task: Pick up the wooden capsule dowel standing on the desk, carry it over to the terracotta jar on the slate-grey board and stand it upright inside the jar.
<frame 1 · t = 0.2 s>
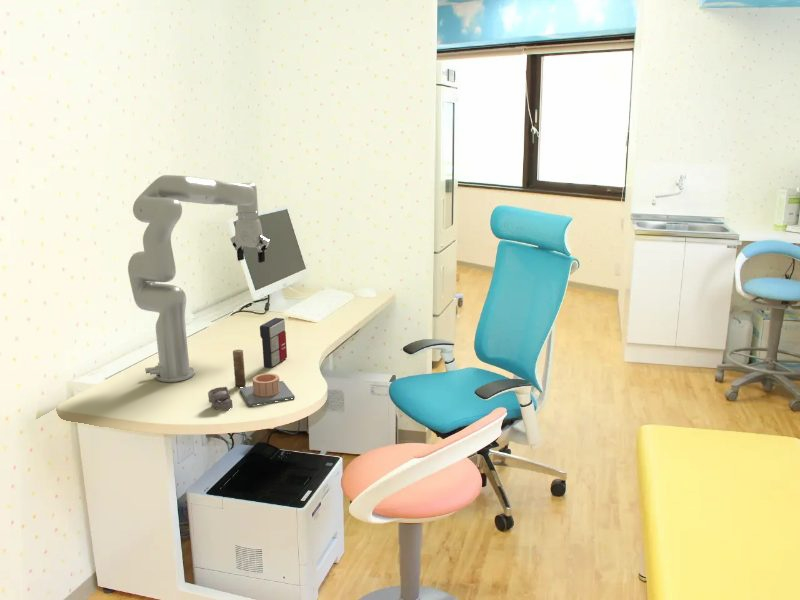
hand: (251, 261, 271), 31 cm above the table, tool pointing down, fingers open, 9 cm apart
wooden capsule dowel: (240, 386, 230), on the table
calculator: (275, 363, 252), on the table
dental mold: (221, 406, 215), on the table
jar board: (267, 394, 223), on the table
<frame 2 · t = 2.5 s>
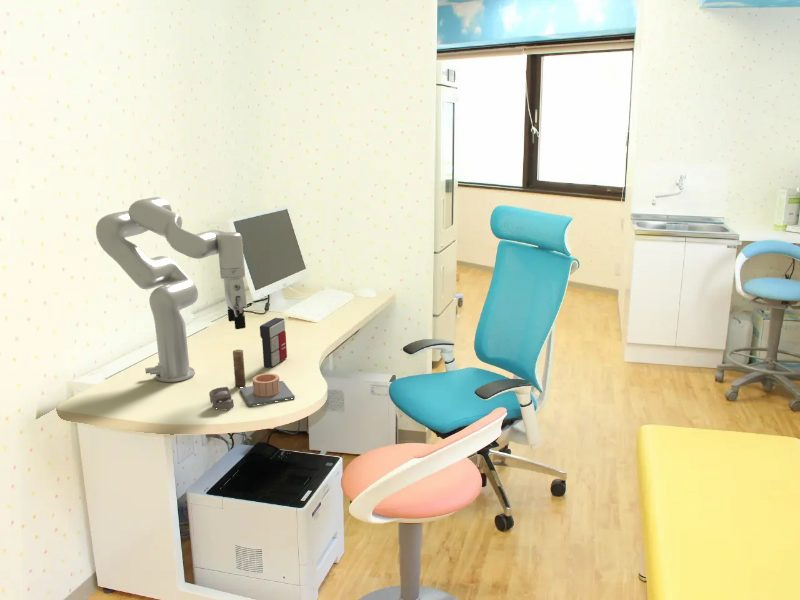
hand: (237, 324, 226), 21 cm above the table, tool pointing down, fingers open, 9 cm apart
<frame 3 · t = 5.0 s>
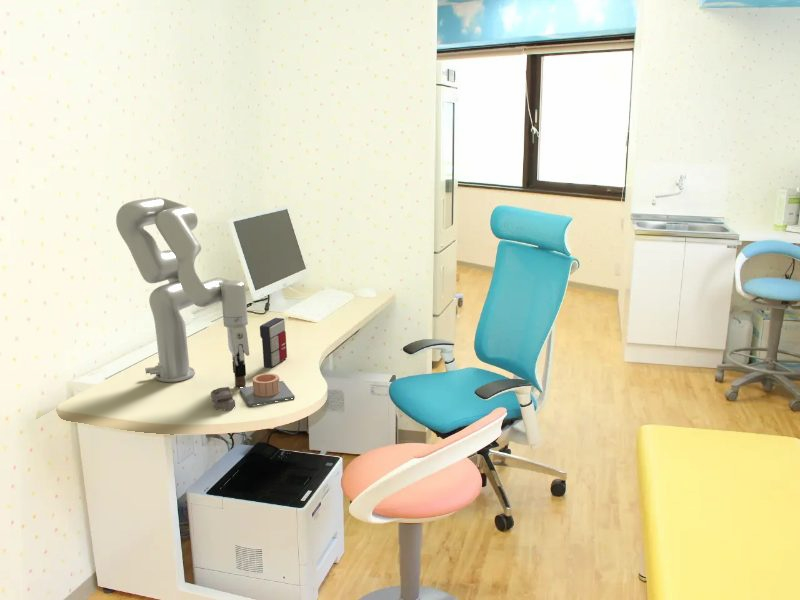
hand: (239, 373, 229), 4 cm above the table, tool pointing down, fingers closed on wooden capsule dowel, 3 cm apart
wooden capsule dowel: (240, 386, 230), on the table, touching gripper
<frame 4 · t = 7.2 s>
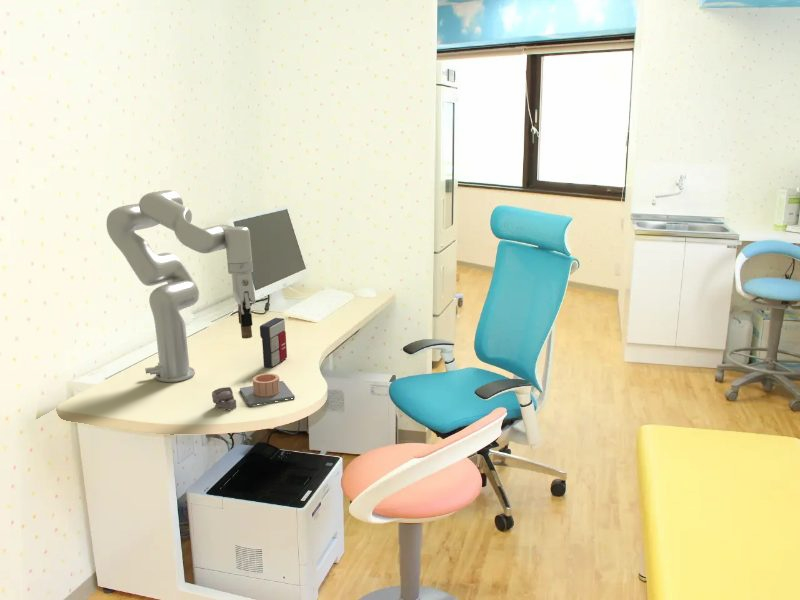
hand: (245, 324, 222), 22 cm above the table, tool pointing down, fingers closed on wooden capsule dowel, 3 cm apart
wooden capsule dowel: (247, 337, 223), point 18 cm above the table, touching gripper
when the fingers open (7 cm above the table, at t = 9.8 s): wooden capsule dowel drops 1 cm, resting on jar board.
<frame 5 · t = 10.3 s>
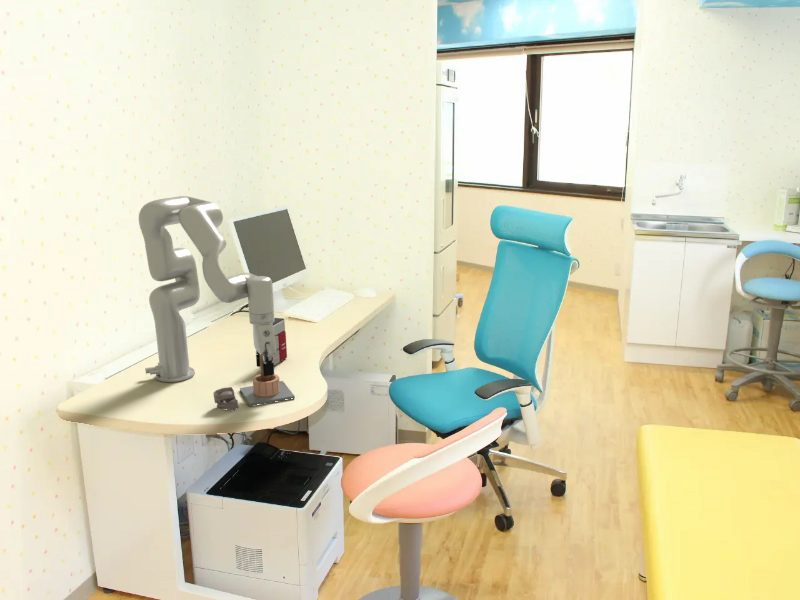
hand: (265, 370, 221), 8 cm above the table, tool pointing down, fingers open, 8 cm apart
wooden capsule dowel: (266, 389, 222), point 2 cm above the table, touching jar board
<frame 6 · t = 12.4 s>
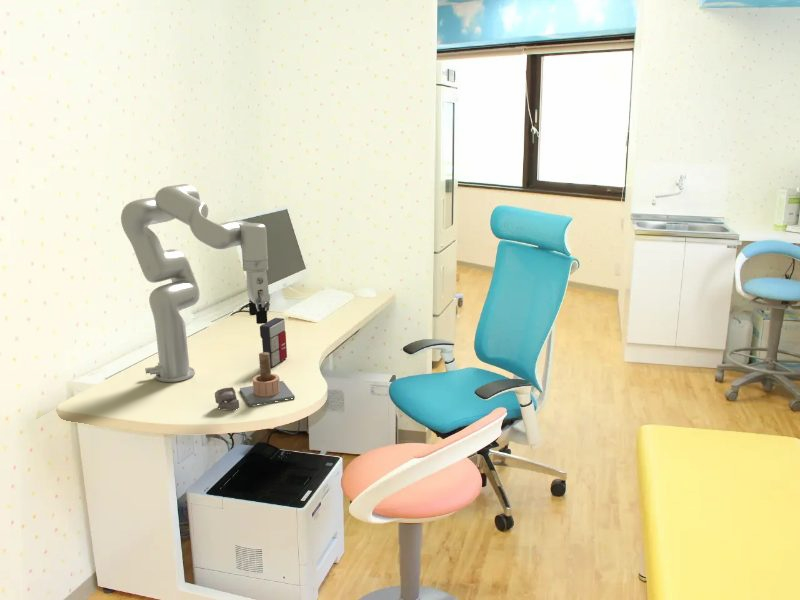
hand: (258, 319, 218), 24 cm above the table, tool pointing down, fingers open, 9 cm apart
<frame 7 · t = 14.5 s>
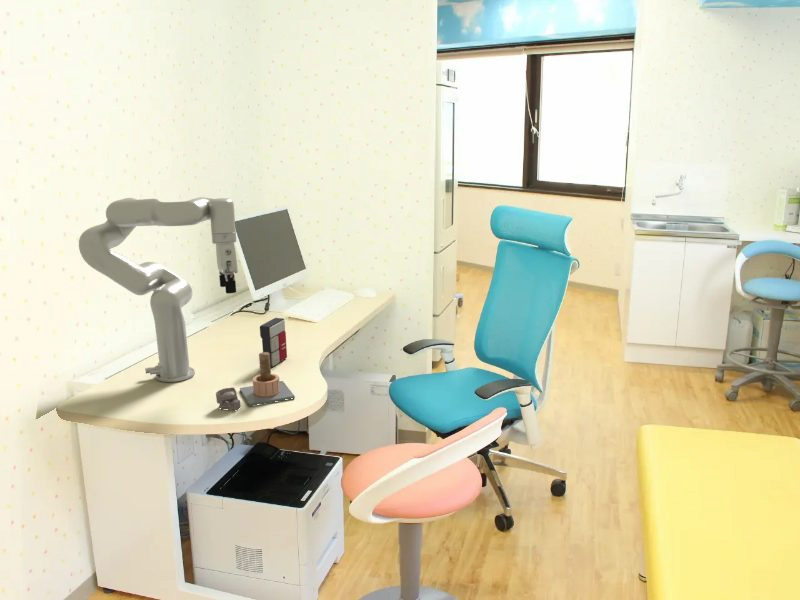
hand: (228, 289, 230), 30 cm above the table, tool pointing down, fingers open, 9 cm apart
at the end: wooden capsule dowel 0.1 cm off-centre on the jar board, point 1.6 cm above the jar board's base; wooden capsule dowel tilted 0°; the gripper is holding nothing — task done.
